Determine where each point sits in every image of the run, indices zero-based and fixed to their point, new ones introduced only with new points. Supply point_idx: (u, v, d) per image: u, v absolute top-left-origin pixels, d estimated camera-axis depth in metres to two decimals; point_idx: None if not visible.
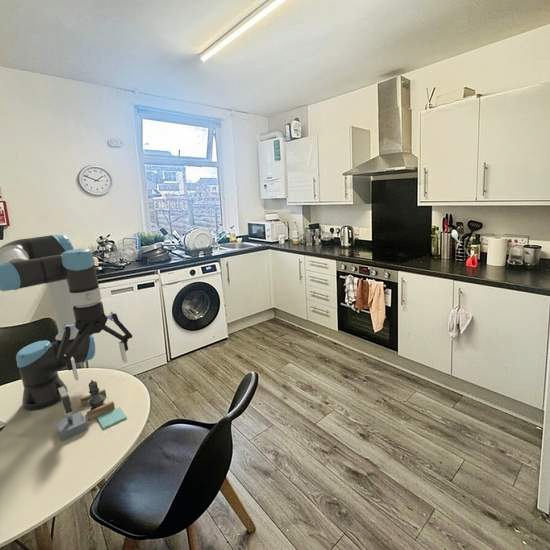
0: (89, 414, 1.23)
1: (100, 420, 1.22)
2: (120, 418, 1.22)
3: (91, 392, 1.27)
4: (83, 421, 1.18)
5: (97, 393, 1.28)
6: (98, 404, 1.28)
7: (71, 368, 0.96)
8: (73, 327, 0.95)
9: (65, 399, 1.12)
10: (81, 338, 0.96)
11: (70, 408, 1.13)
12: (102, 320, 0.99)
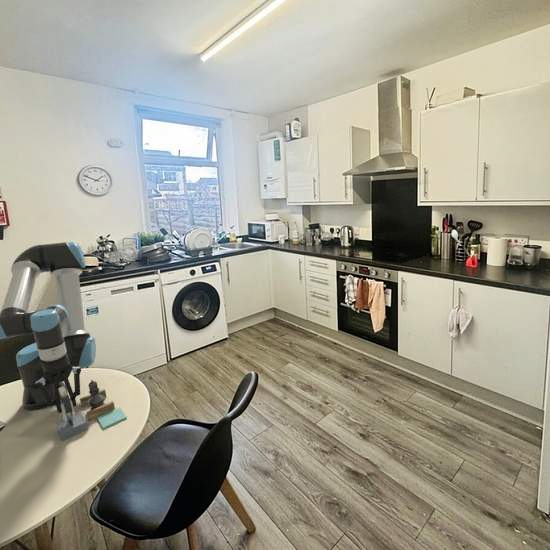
0: (89, 414, 1.23)
1: (100, 420, 1.22)
2: (120, 418, 1.22)
3: (91, 392, 1.27)
4: (83, 421, 1.18)
5: (97, 393, 1.28)
6: (98, 404, 1.28)
7: (61, 411, 1.15)
8: (43, 380, 1.10)
9: (65, 399, 1.12)
10: (56, 386, 1.12)
11: (70, 408, 1.13)
12: (67, 369, 1.14)
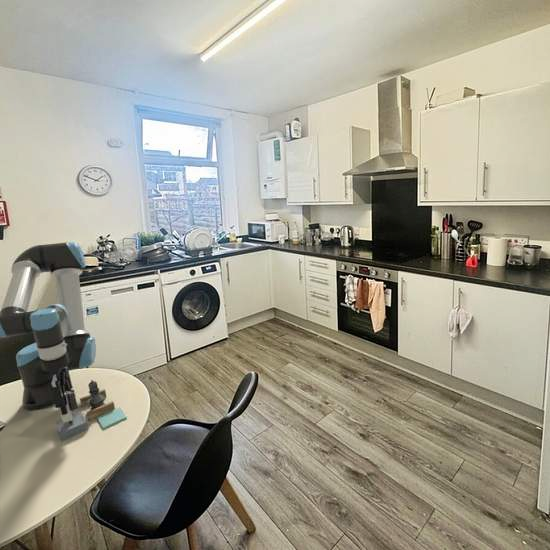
0: (89, 414, 1.23)
1: (100, 420, 1.22)
2: (120, 418, 1.22)
3: (91, 392, 1.27)
4: (83, 421, 1.18)
5: (97, 393, 1.28)
6: (98, 404, 1.28)
7: (67, 411, 1.13)
8: (56, 379, 1.09)
9: (71, 396, 1.14)
10: (64, 384, 1.12)
11: (76, 405, 1.15)
12: None
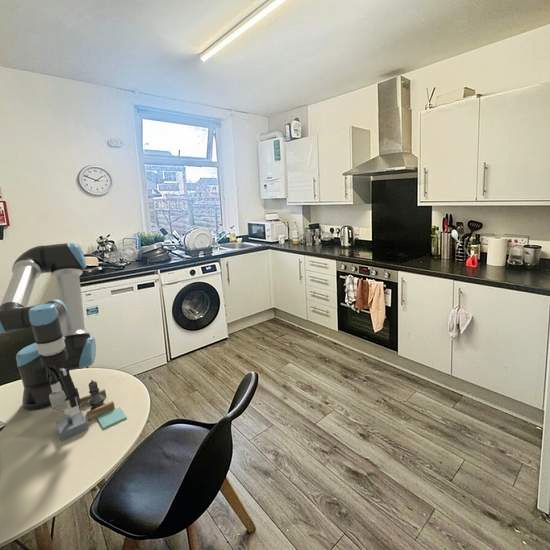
0: (89, 414, 1.23)
1: (100, 420, 1.22)
2: (120, 418, 1.22)
3: (91, 392, 1.27)
4: (83, 421, 1.18)
5: (97, 393, 1.28)
6: (98, 404, 1.28)
7: None
8: None
9: None
10: None
11: (79, 400, 1.18)
12: None
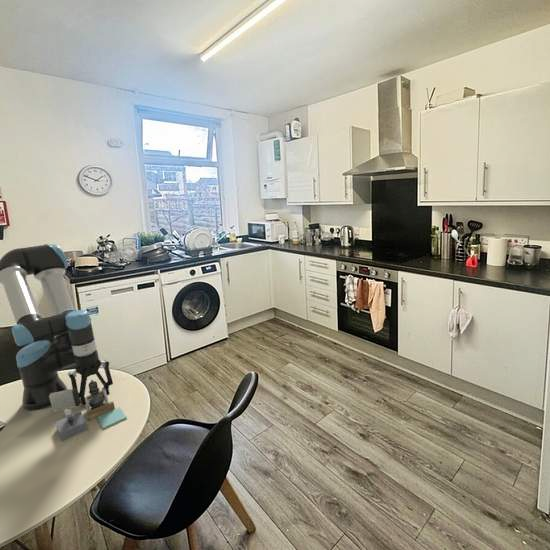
0: (89, 414, 1.23)
1: (100, 420, 1.22)
2: (120, 418, 1.22)
3: (91, 392, 1.27)
4: (83, 421, 1.18)
5: (97, 393, 1.28)
6: (98, 404, 1.28)
7: (84, 403, 1.26)
8: (75, 373, 1.23)
9: (76, 391, 1.16)
10: (85, 380, 1.24)
11: (79, 400, 1.18)
12: (97, 364, 1.26)
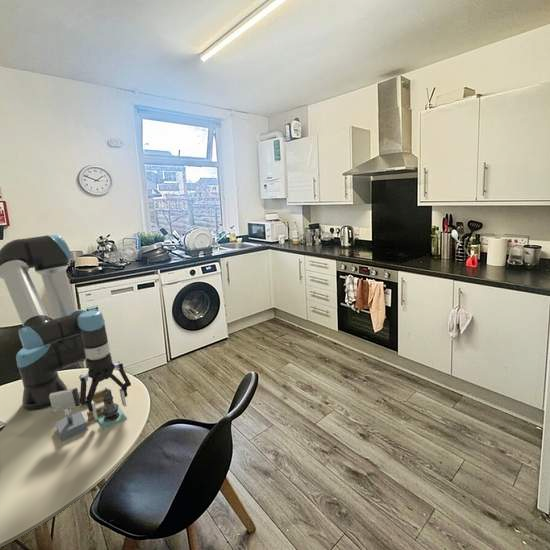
0: (89, 414, 1.23)
1: (100, 420, 1.22)
2: (120, 418, 1.22)
3: (105, 401, 1.20)
4: (83, 421, 1.18)
5: (111, 402, 1.21)
6: (112, 413, 1.21)
7: (91, 410, 1.18)
8: (87, 376, 1.15)
9: (76, 391, 1.16)
10: (96, 385, 1.16)
11: (79, 400, 1.18)
12: (110, 368, 1.19)
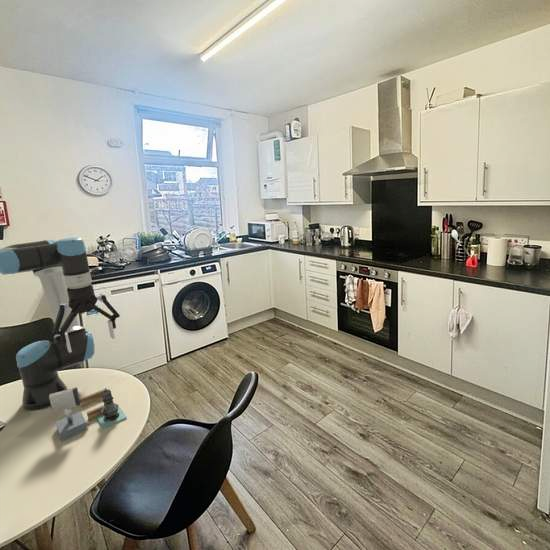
0: (89, 414, 1.23)
1: (100, 420, 1.22)
2: (120, 418, 1.22)
3: (105, 401, 1.20)
4: (83, 421, 1.18)
5: (111, 402, 1.21)
6: (112, 414, 1.21)
7: (65, 342, 1.10)
8: (67, 306, 1.09)
9: (77, 390, 1.17)
10: (74, 315, 1.10)
11: (79, 399, 1.18)
12: (92, 300, 1.13)
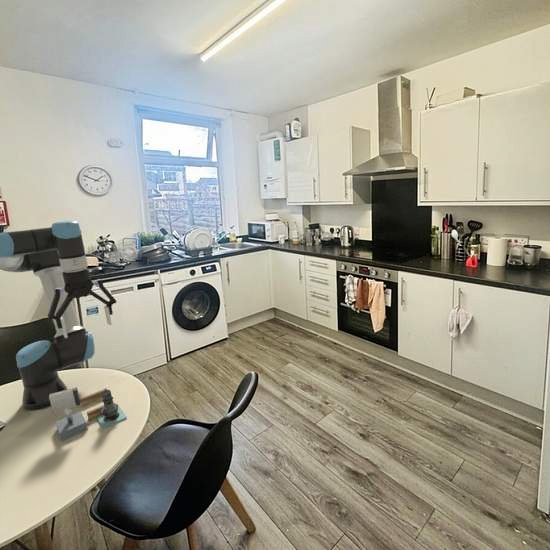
0: (89, 414, 1.23)
1: (100, 420, 1.22)
2: (120, 418, 1.22)
3: (105, 401, 1.20)
4: (83, 421, 1.18)
5: (111, 402, 1.21)
6: (112, 414, 1.21)
7: (61, 327, 1.09)
8: (62, 290, 1.08)
9: (77, 390, 1.17)
10: (69, 300, 1.09)
11: (79, 399, 1.18)
12: (88, 285, 1.12)
